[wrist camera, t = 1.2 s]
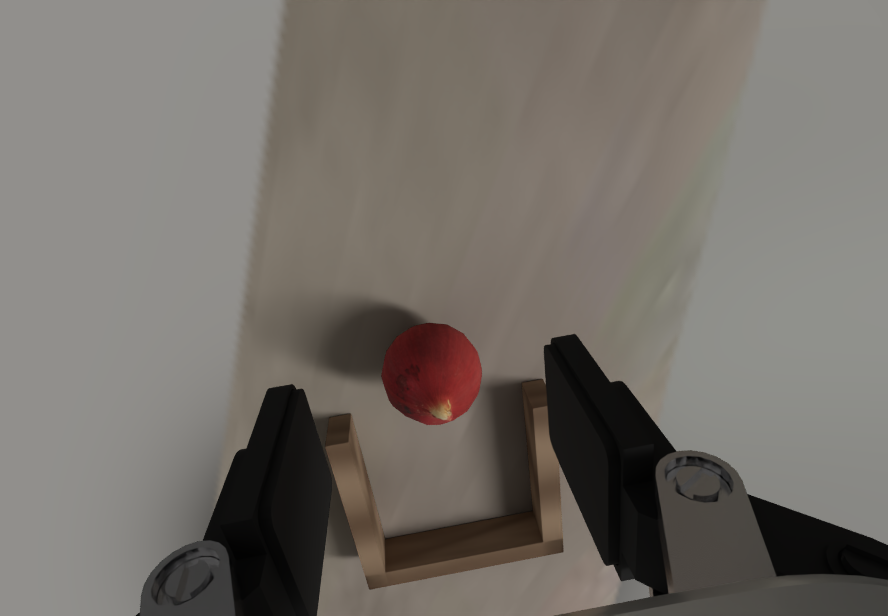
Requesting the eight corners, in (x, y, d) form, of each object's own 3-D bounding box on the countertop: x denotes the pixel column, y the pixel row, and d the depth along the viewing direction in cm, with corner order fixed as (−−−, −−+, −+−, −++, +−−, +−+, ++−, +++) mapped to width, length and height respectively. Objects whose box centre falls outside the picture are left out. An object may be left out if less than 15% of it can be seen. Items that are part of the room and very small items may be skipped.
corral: (329, 417, 35) (325, 446, 33) (542, 379, 36) (555, 404, 33) (370, 555, 41) (369, 589, 39) (551, 520, 42) (563, 552, 39)
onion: (396, 388, 35) (400, 473, 28) (370, 316, 32) (367, 388, 25) (479, 366, 35) (504, 444, 28) (459, 291, 32) (481, 356, 25)
